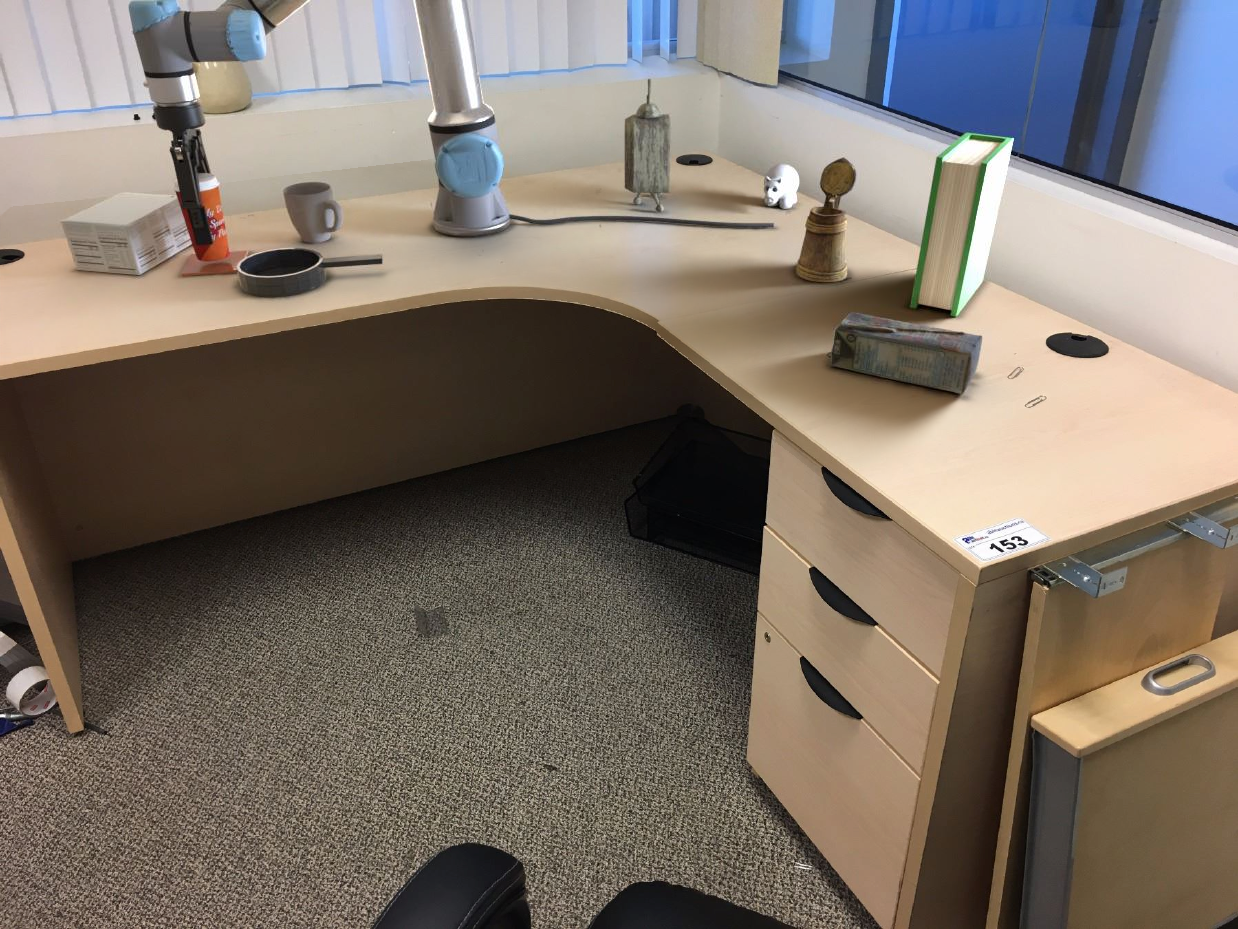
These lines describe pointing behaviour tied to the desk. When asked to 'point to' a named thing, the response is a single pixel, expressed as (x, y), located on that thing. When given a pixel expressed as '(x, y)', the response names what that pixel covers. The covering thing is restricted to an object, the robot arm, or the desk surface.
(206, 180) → the paper cup
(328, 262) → the pan handle
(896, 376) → the beverage carton
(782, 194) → the chubby cartoon animal
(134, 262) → the supplement box
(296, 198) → the mug
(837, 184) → the wooden mug
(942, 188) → the hardback book
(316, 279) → the pan
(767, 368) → the desk surface
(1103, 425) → the desk surface
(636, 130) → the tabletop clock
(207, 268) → the coaster
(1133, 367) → the desk surface
